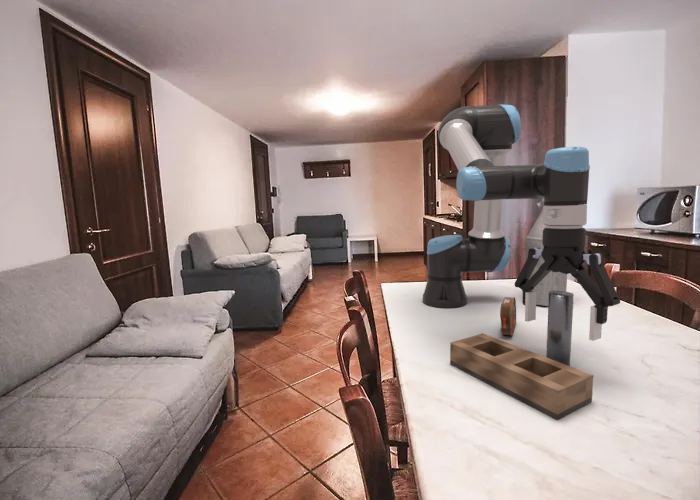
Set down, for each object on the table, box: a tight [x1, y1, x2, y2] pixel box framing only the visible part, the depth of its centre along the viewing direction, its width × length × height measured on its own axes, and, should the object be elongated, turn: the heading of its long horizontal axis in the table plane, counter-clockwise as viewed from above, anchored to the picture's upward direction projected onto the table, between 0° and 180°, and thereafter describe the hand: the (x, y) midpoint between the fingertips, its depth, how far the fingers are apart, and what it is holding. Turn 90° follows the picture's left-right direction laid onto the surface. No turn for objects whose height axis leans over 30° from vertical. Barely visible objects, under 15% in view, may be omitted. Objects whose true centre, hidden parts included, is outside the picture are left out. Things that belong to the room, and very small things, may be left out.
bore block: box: [449, 332, 594, 421], centre depth 71 cm, size 24×10×5 cm, turn 29°
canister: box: [525, 198, 568, 307], centre depth 121 cm, size 13×17×40 cm
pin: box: [545, 290, 574, 367], centre depth 75 cm, size 4×4×16 cm
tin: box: [499, 296, 517, 337], centre depth 98 cm, size 15×3×8 cm, turn 150°
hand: (560, 328), depth 75 cm, fingers open, 13 cm apart
